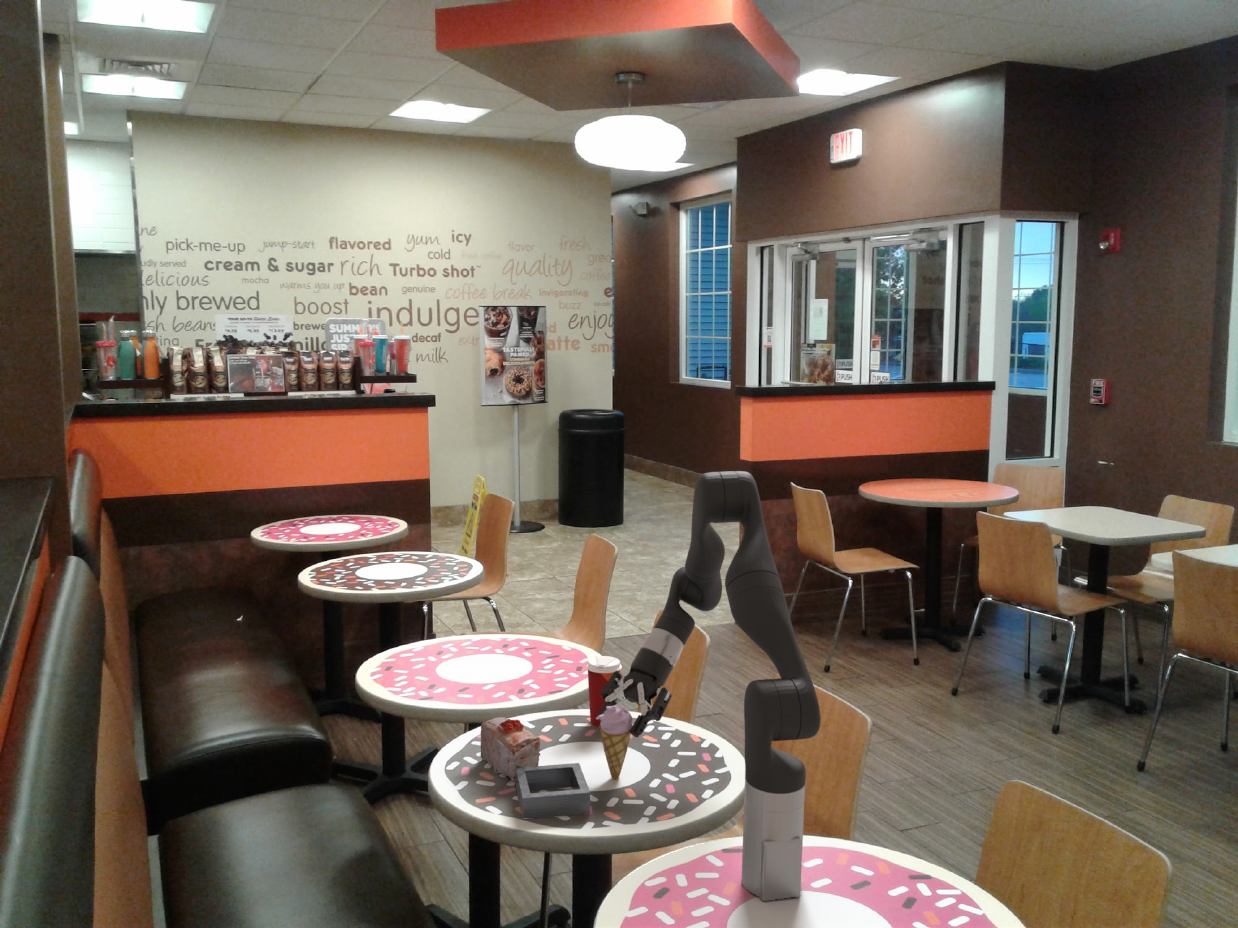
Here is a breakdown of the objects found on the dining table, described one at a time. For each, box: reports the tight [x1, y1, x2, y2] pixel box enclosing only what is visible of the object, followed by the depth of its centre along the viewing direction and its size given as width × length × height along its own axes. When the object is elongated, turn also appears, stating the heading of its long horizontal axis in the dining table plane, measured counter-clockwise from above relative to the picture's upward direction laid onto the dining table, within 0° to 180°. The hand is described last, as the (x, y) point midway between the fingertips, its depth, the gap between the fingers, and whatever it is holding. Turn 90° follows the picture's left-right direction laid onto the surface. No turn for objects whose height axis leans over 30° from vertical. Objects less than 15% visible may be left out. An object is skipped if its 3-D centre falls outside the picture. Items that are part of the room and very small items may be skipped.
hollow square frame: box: [515, 762, 591, 819], centre depth 182 cm, size 12×12×4 cm
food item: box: [480, 716, 541, 781], centre depth 194 cm, size 14×8×10 cm, turn 39°
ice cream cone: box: [596, 705, 634, 781], centre depth 190 cm, size 7×6×15 cm
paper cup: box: [585, 655, 623, 728], centre depth 216 cm, size 8×8×14 cm
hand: (617, 728), depth 191 cm, fingers open, 8 cm apart
